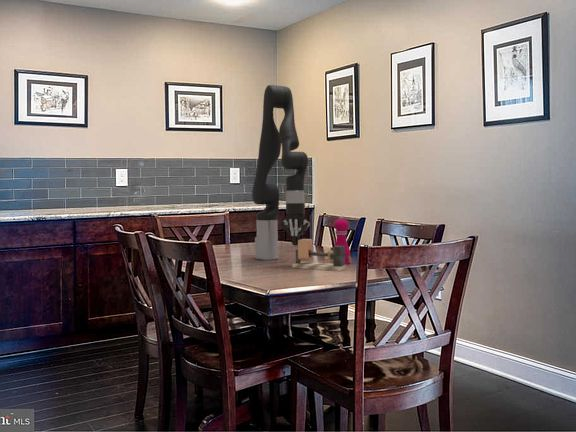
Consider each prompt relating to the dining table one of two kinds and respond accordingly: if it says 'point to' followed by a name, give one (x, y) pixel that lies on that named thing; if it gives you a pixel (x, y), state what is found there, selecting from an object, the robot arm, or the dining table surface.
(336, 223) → the pepper mill
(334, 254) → the cord stand
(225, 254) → the dining table surface
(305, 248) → the marker sleeve
